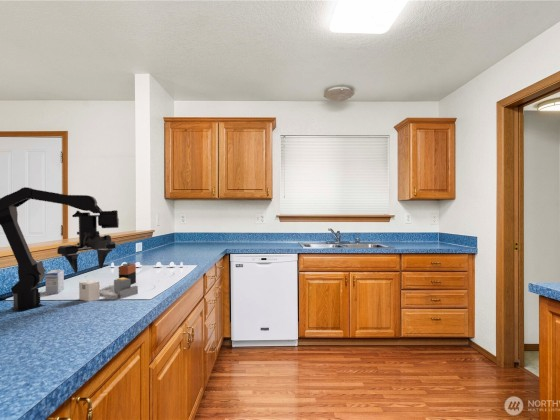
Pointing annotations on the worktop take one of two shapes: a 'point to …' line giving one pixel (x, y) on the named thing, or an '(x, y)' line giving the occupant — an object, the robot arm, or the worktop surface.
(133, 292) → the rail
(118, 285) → the relay block
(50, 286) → the medicine box
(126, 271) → the battery
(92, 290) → the block
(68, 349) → the worktop surface
